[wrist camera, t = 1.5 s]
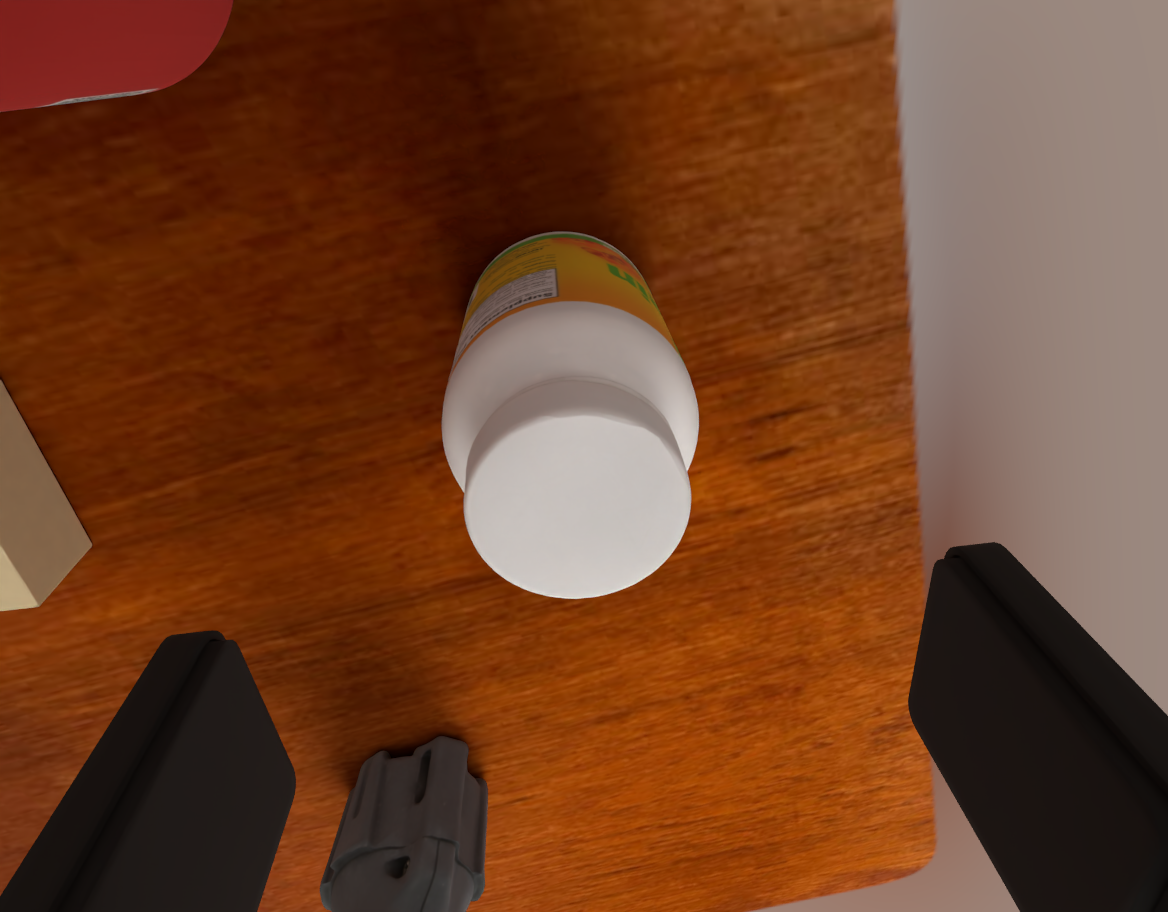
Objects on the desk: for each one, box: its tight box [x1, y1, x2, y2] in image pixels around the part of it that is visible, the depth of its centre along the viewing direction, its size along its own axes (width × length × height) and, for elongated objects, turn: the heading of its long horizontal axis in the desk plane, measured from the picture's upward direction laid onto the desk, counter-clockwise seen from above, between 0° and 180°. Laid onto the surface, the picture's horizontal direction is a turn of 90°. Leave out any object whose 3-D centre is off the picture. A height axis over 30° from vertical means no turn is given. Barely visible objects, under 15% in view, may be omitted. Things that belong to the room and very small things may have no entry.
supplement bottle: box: [442, 232, 699, 599], centre depth 16 cm, size 5×5×10 cm
